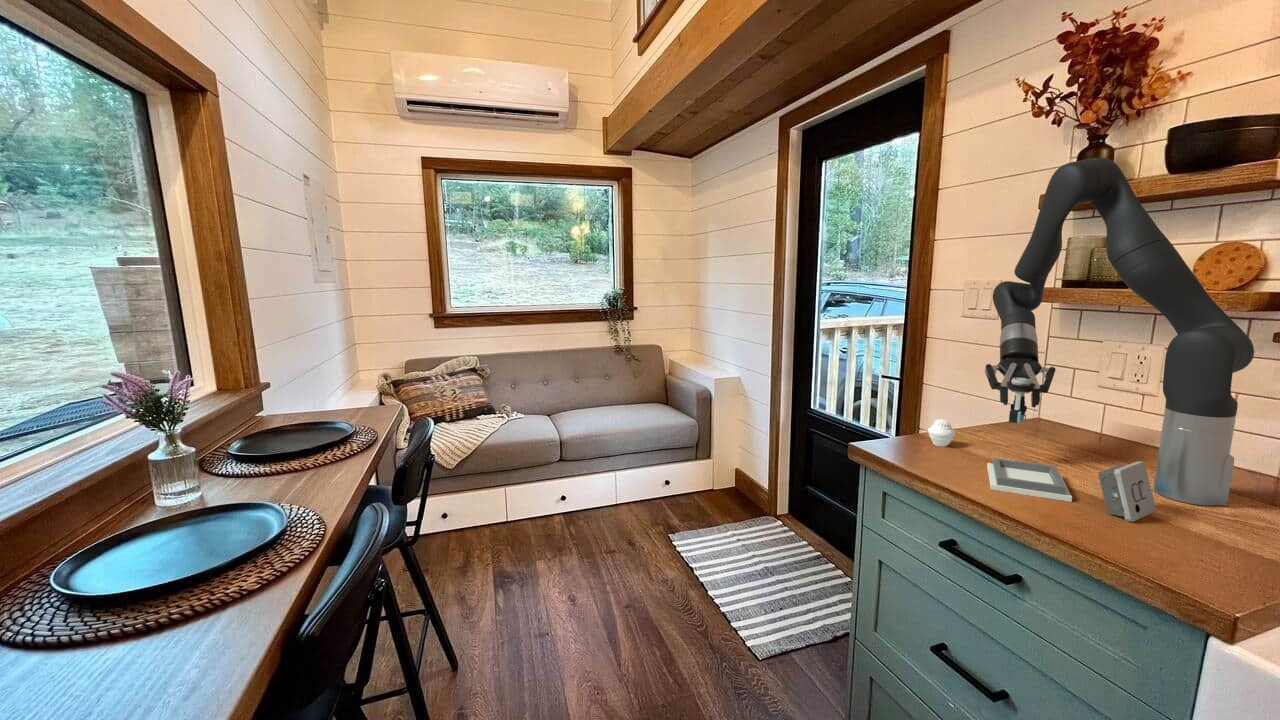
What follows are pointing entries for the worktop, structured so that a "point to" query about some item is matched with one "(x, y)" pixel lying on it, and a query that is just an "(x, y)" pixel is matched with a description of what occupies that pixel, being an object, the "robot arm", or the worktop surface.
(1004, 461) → the grey square tray
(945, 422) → the muffin
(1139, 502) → the electrical outlet
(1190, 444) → the robot arm
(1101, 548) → the worktop surface
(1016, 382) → the push button
